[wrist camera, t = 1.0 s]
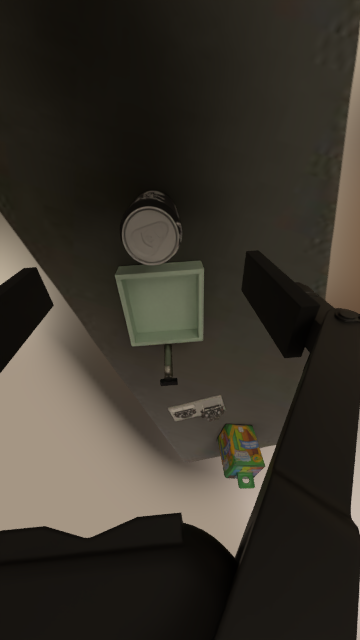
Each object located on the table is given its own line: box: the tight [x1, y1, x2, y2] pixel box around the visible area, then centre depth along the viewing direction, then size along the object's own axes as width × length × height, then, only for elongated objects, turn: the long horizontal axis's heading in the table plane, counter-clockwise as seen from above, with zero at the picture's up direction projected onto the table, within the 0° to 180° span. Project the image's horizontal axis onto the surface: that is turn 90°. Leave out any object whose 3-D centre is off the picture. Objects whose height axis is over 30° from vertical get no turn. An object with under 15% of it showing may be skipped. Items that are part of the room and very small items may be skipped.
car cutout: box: [168, 395, 225, 421], centre depth 59 cm, size 15×7×4 cm, turn 107°
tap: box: [160, 343, 178, 386], centre depth 40 cm, size 4×3×12 cm
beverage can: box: [120, 190, 182, 265], centre depth 27 cm, size 7×7×12 cm
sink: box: [115, 261, 204, 346], centre depth 39 cm, size 15×14×4 cm
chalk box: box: [218, 424, 265, 488], centre depth 64 cm, size 9×9×15 cm
